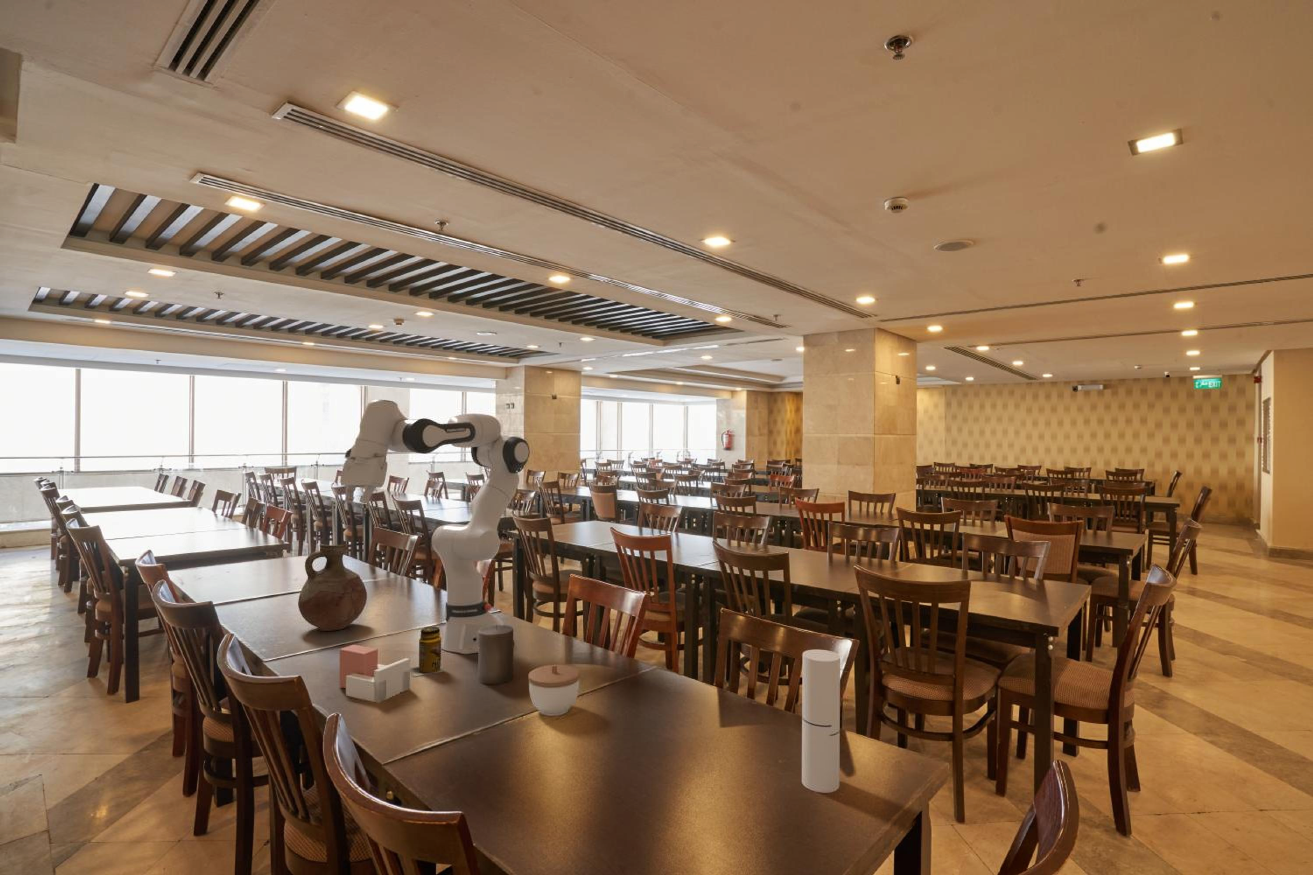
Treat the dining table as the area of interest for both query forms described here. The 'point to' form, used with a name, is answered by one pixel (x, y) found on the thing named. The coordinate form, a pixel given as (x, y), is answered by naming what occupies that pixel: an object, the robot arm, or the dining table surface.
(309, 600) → the jug
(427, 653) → the condiment
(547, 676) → the white lidded jar
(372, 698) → the dock
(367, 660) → the plug
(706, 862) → the dining table surface
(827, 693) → the cylindrical container
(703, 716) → the dining table surface
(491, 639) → the pillar candle
